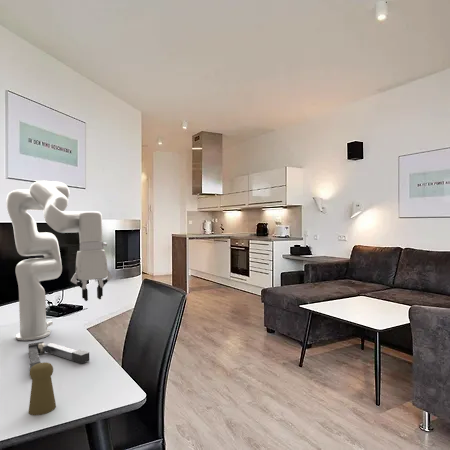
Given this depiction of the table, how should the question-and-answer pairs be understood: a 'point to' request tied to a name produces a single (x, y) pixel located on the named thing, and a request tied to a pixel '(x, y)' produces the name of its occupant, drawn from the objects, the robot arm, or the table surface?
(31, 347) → the tong base
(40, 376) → the cork
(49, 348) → the tong arm
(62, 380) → the table surface
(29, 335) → the robot arm
